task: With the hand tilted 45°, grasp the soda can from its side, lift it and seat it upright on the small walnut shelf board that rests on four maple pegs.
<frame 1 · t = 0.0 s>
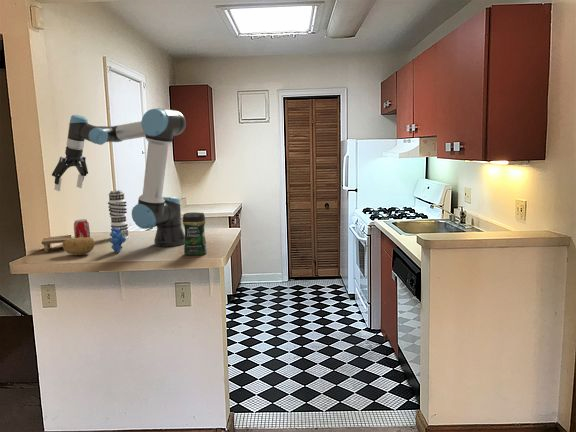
hand: (68, 188, 232), 28 cm above the table, tool tilted 20°, fingers open, 13 cm apart
potato: (79, 255, 212), on the table
decorative candle: (120, 238, 248), on the table
coffee jar: (196, 254, 208), on the table
shelf stand: (58, 249, 226), on the table
soda can: (83, 244, 236), on the table
grapes: (119, 252, 215), on the table
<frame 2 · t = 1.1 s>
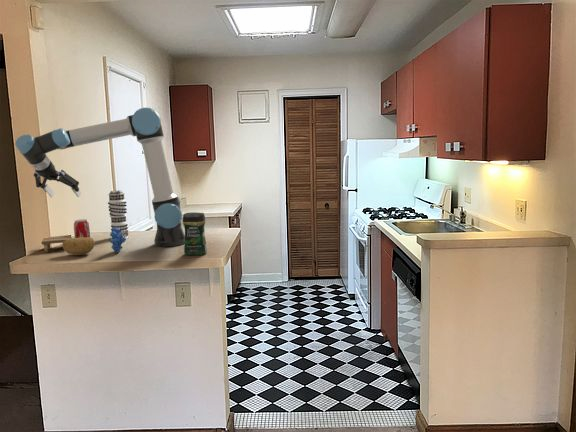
hand: (66, 195, 222), 26 cm above the table, tool tilted 45°, fingers open, 13 cm apart
nothing on the table moved.
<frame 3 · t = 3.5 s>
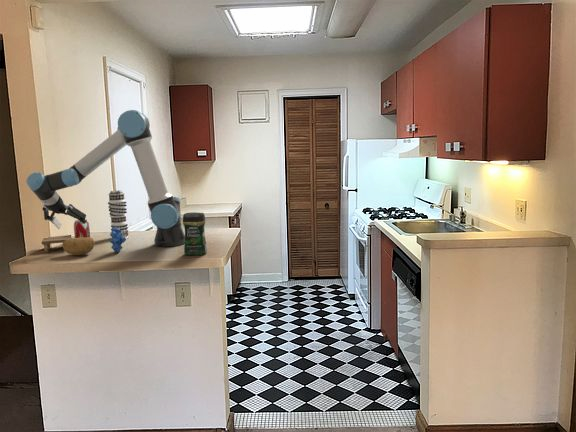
hand: (73, 226, 229), 10 cm above the table, tool tilted 45°, fingers open, 13 cm apart
nothing on the table moved.
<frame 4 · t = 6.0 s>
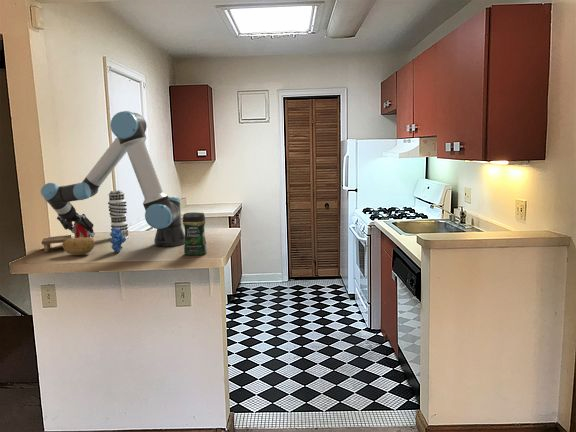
hand: (86, 235, 239), 4 cm above the table, tool tilted 45°, fingers closed on soda can, 7 cm apart
soda can: (83, 244, 236), on the table, touching gripper
everything else where it was.
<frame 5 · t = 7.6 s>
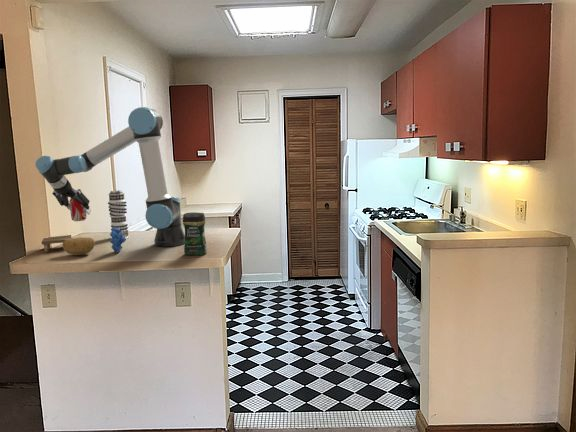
hand: (82, 212, 236), 16 cm above the table, tool tilted 45°, fingers closed on soda can, 7 cm apart
soda can: (79, 220, 234), point 12 cm above the table, touching gripper
everything else where it was.
when the fingers open (10 cm above the table, at t = 9.6 s): soda can drops 2 cm, resting on shelf stand.
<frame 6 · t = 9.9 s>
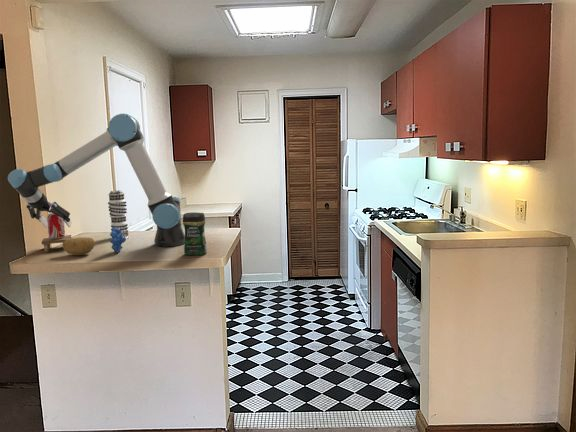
hand: (59, 225, 226), 11 cm above the table, tool tilted 45°, fingers open, 11 cm apart
soda can: (57, 238, 225), point 5 cm above the table, touching shelf stand
everything else where it was.
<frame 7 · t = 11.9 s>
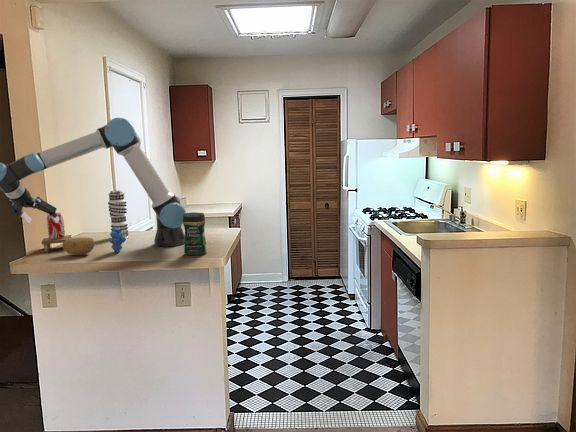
hand: (43, 221, 215), 15 cm above the table, tool tilted 45°, fingers open, 13 cm apart
nothing on the table moved.
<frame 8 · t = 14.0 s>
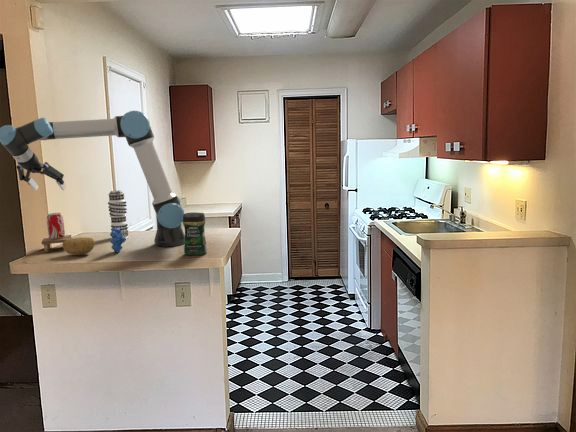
hand: (50, 188, 216), 30 cm above the table, tool tilted 45°, fingers open, 13 cm apart
nothing on the table moved.
at the end: soda can 0.2 cm from the shelf stand (horizontally); soda can tilted 1°; soda can touching shelf stand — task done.
